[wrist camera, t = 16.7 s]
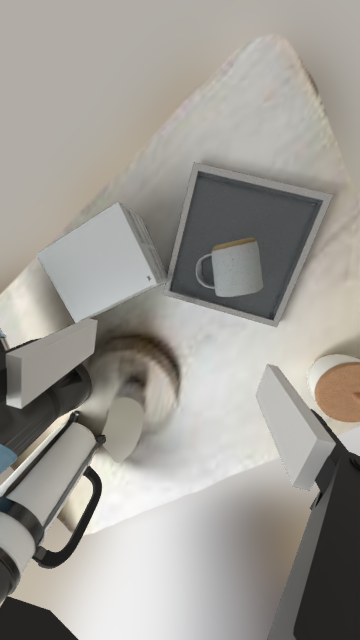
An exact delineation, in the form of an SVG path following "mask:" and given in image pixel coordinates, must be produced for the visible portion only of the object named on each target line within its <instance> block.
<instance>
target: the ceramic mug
mask: <svg viewBox="0 0 360 640" xmlns="http://www.w3.org/2000/svg"><path fill="white" fill-rule="evenodd" d="M209 256H212V266H213V274H214V284H215V285H211V284H208V283H207V282H205V281H204V279H203V276H202V267H203V266H202V262H203V261H204V260H205V259H206V258H208V257H209ZM196 277H197V279H198V281H199V282H200V283H201V284H202V285H203V286H205V287H207V288H212V289H215V293H216V295H217V296H221V297H232V296H241V295H246V294H251V293H255V292H257V291H259V290H261V289H262V288H263V280H262V271H261V264H260V255H259V248H258V244H257V241H256V239H255V238H252V237H251V238H246V239H241V240H236V241H232V242H228V243H223V244H219V245H216V246H214V247H213V249H212V253H211V254H207V255H205V256H203V257H201V258H200V259H199V261H198V262H197V265H196Z"/></svg>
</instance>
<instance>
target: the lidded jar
mask: <svg viewBox="0 0 360 640" xmlns="http://www.w3.org/2000/svg"><path fill="white" fill-rule="evenodd" d="M307 384H308V388H309V390H310V392H311V394H312V396H313V398H314V399H315V401H316V402H317V404H318V406H319V407H320V408H321V410H322V411H323V412H324V413H325V414H326V415H328V416H329V417H331V418H333V419H335V420H339V421H343V422H360V359H358V358H355V357H352V356H348V355H343V354H332V355H327V356H324V357H321V358H319V359H318V360H316V361H315V362H314V363H313V364H312V365H311V366H310V368H309V370H308V373H307Z"/></svg>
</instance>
